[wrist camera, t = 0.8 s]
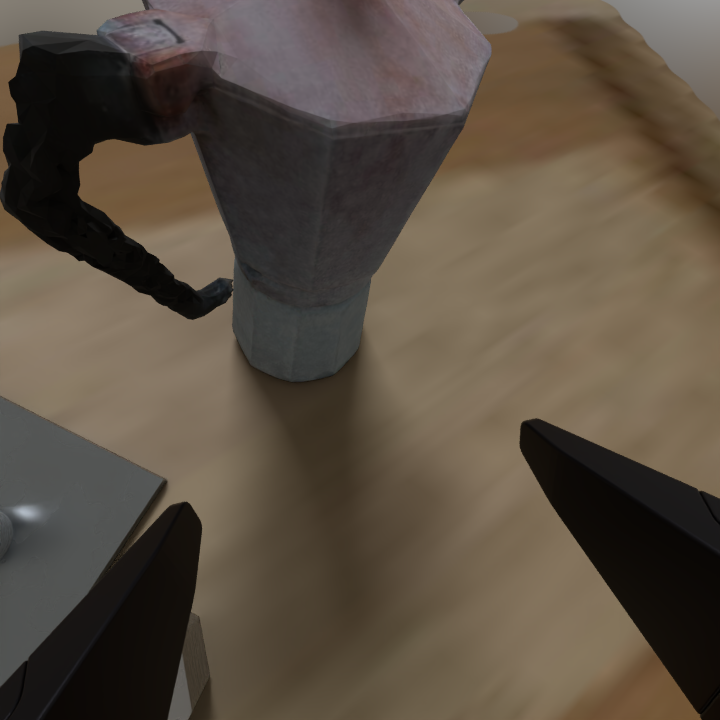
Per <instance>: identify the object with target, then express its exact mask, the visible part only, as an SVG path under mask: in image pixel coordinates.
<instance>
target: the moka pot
mask: <svg viewBox="0 0 720 720" xmlns="http://www.w3.org/2000/svg"><path fill="white" fill-rule="evenodd" d="M142 1H143V4H144V7H145V9H146V10H144V11H139V12H135V13H129V14H126V15H122V16H119V17H115V18H112V19H109V20H107V21H106V22H105V23H104V24H103V25H102V26H101V27H100V28H99V29H98V30H97V35H86V34H75V33H63V32H52V31H39V32H33V33H27V34H21V35H19V49H20V63H19V67H18V70H17V73H16V76H15V77H14V78H13V79H12V80H10V81H9V82H8V83H9V89H10V94H11V97H12V98H13V100H14V101H15V103H16V108H17V115H18V123H11V124H7V125H6V129H5V133H4V136H3V152H4V154H5V157H6V160H7V163H8V166H9V167H8V169H7V170H6V171H5V172H4V177H3V181H2V183H1V184H2V187H1V191H0V199H1V202H2V204H3V207H4V209H5V210H6V211H7V212H8V213H10V214H11V215H12V216H14V217H15V218H16V219H18V220H19V221H20V222H21V223H22V224H23V225H25V226H26V227H27V228H28V229H29V230H30V231H32V232H33V233H34V234H35V235H37V236H38V237H39V238H41V239H42V240H43V241H44V242H46V243H47V244H49V245H50V246H52V247H53V248H55V249H57V250H58V251H62V252H67V253H69V254H70V255H72V256H74V257H75V258H76V259H77V260H78V261H86V262H87V263H88V264H90V265H91V266H92V267H94V268H97V269H99V270H101V271H103V272H105V273H107V274H109V275H111V276H113V277H115V278H117V279H119V280H121V281H123V282H125V283H127V284H128V285H130V286H132V287H133V288H134V289H135V290H136V291H138V292H140V293H143V294H147V295H151V296H152V297H153V298H154V299H155V300H156V302H158V303H159V304H161V305H163V306H168V308H169V309H171V310H173V311H175V312H177V313H179V314H180V315H182V316H184V317H186V318H187V319H192V320H194V319H197V318H200V317H203V316H205V315H206V314H208V313H209V312H211V311H212V310H214V309H215V308H216V307H218V306H220V305H222V304H224V303H226V301H227V300H228V298H230V297H231V295H232V294H231V292H232V291H233V324H232V327H233V332H234V334H235V336H236V338H237V340H238V342H239V344H240V346H241V348H242V350H243V352H244V354H245V356H246V357H247V359H248V361H249V364H250V365H252V366H253V367H255V368H257V369H259V370H260V371H262V372H265V373H267V374H269V375H271V376H274V377H276V378H278V379H283V380H286V381H290V382H303V381H309V380H315V379H320V378H324V377H328V376H332V375H334V374H335V373H336V372H337V371H339V370H340V369H341V368H342V367H343V366H344V365H345V363H346V362H347V361H348V360H349V359H350V358H351V357H352V356H353V355H354V354H355V352H356V351H357V349H358V348H359V344H360V338H361V333H362V328H363V322H364V316H365V311H366V306H367V301H368V295H369V289H370V283H371V277H372V275H373V274H374V273H375V272H376V271H377V270H378V269H379V267H380V265H381V264H382V262H383V261H384V259H385V257H386V256H387V254H388V252H389V251H390V249H391V247H392V246H393V244H394V242H395V241H396V239H397V237H398V235H399V234H400V232H401V230H402V229H403V227H404V225H405V223H406V222H407V220H408V218H409V217H410V215H411V213H412V212H413V210H414V208H415V207H416V205H417V203H418V202H419V200H420V199H421V197H422V195H423V194H424V192H425V190H426V189H427V187H428V185H429V184H430V182H431V180H432V179H433V177H434V176H435V174H436V172H437V170H438V169H439V167H440V165H441V164H442V162H443V160H444V159H445V157H446V155H447V153H448V152H449V150H450V148H451V147H452V145H453V144H454V142H455V140H456V139H457V137H458V135H459V134H460V132H461V131H462V129H463V127H464V124H465V122H466V119H467V117H468V114H469V111H470V109H471V106H472V103H473V101H474V98H475V95H476V92H477V90H478V87H479V85H480V82H481V79H482V77H483V74H484V71H485V69H486V66H487V64H488V61H489V59H490V57H491V44H490V43H489V42H488V41H487V40H486V38H485V37H484V36H483V35H482V33H481V32H480V31H479V30H478V29H477V27H476V26H475V25H474V24H473V22H472V21H471V20H470V19H469V18H468V17H467V16H466V15H465V14H464V13H463V11H462V10H461V8H460V7H459V5H460V4H461V3H462V2H463V1H464V0H142ZM189 133H191V136H192V138H193V141H194V144H195V147H196V149H197V152H198V155H199V158H200V160H201V163H202V166H203V169H204V171H205V174H206V177H207V179H208V182H209V185H210V188H211V190H212V193H213V196H214V199H215V201H216V204H217V207H218V209H219V212H220V214H221V217H222V219H223V221H224V224H225V226H226V228H227V231H228V233H229V236H230V239H231V243H232V247H233V251H234V254H235V262H234V289H233V288H232V287H233V286H232V284H231V283H232V281H233V280H231V279H226V278H218V279H217V280H215V281H214V282H212V283H211V284H209V285H207V286H206V287H204V288H203V289H201V290H198V291H195V290H194V289H193V288H192V287H191V286H189V285H188V284H186V283H184V282H181V281H178V280H176V279H174V275H173V274H172V273H171V272H170V271H169V270H168V269H167V268H166V267H165V266H164V265H163V264H161V263H159V261H160V260H159V259H158V258H157V257H156V256H154V255H152V254H150V253H148V252H147V251H146V250H145V248H144V247H143V246H142V245H140V244H139V243H137V242H136V241H134V240H132V239H131V238H129V237H127V236H126V235H124V233H123V231H122V230H121V228H120V227H119V226H117V225H115V224H114V223H113V221H112V220H111V219H110V218H109V217H108V216H107V215H106V214H105V213H104V212H102V211H101V210H99V209H97V208H95V207H93V206H91V205H89V204H87V203H86V202H84V201H82V200H81V199H80V197H79V196H78V191H79V187H80V179H79V161H81V160H82V159H83V158H85V157H86V156H88V155H89V154H91V153H92V151H93V147H94V144H97V143H99V142H102V141H105V140H110V139H117V140H122V141H126V142H131V143H135V144H140V145H153V144H161V143H169V142H171V141H174V140H177V139H179V138H182V137H184V136H186V135H188V134H189Z"/></svg>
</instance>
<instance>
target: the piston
mask: <svg viewBox="0 0 720 720" xmlns="http://www.w3.org/2000/svg"><path fill="white" fill-rule="evenodd" d="M166 481H167V479H165V478H163V477H161V476H159V475H157V474H155V473H153V472H151V471H149V470H147V469H145V468H143V467H141V466H139V465H137V464H135V463H133V462H131V461H129V460H127V459H125V458H123V457H121V456H119V455H117V454H115V453H113V452H111V451H109V450H107V449H105V448H103V447H101V446H99V445H97V444H95V443H93V442H91V441H89V440H87V439H85V438H83V437H81V436H79V435H77V434H75V433H73V432H71V431H69V430H67V429H65V428H63V427H61V426H59V425H57V424H55V423H53V422H51V421H49V420H47V419H45V418H43V417H41V416H39V415H37V414H35V413H33V412H31V411H29V410H27V409H25V408H23V407H21V406H19V405H17V404H15V403H13V402H11V401H9V400H7V399H5V398H3V397H1V396H0V687H1V686H2V685H3V684H4V682H5V681H6V680H7V679H8V678H9V677H10V676H11V675H12V674H13V673H14V672H15V671H16V670H17V669H18V667H19V666H20V665H21V664H22V663H23V662H24V661H26V660H28V657H29V656H30V655H31V654H32V653H33V651H34V650H35V649H36V648H37V647H38V646H39V645H40V644H41V643H42V642H43V641H44V640H45V639H46V638H47V637H48V635H49V634H50V633H51V632H52V631H53V630H54V629H55V628H56V627H57V626H58V625H59V624H60V623H61V622H62V620H63V619H64V618H65V617H66V616H67V615H68V614H69V613H70V612H71V611H72V610H73V609H74V608H75V607H76V605H77V604H78V603H79V602H80V601H81V600H82V599H83V598H84V597H85V596H86V595H87V594H88V593H89V592H90V590H91V589H92V588H93V587H94V586H95V585H96V584H97V583H98V582H99V581H100V580H101V579H102V578H103V576H104V575H105V573H106V572H107V570H108V569H109V567H110V566H111V564H112V563H113V561H114V560H115V558H116V557H117V555H118V554H119V552H120V551H121V549H122V548H123V546H124V545H125V543H126V542H127V540H128V538H129V537H130V535H131V534H132V532H133V531H134V529H135V528H136V526H137V525H138V523H139V522H140V520H141V519H142V517H143V516H144V514H145V513H146V511H147V510H148V508H149V507H150V505H151V504H152V502H153V501H154V499H155V498H156V496H157V495H158V493H159V492H160V490H161V489H162V487H163V485H164V484H165V482H166Z"/></svg>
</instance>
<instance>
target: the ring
mask: <svg viewBox="0 0 720 720" xmlns="http://www.w3.org/2000/svg"><path fill="white" fill-rule="evenodd" d="M209 677H210V674H209V668H208V663H207V657H206V652H205V647H204V641H203V636H202V630H201V625H200V620H199V616H197V615H195V614H193V613H190V618H189V623H188V627H187V632H186V637H185V641H184V646H183V651H182V655H181V660H180V665H179V669H178V674H177V679H176V683H175V688H174V693H173V697H172V702H171V707H170V711H169V716H168V720H188V719H189V717H190V715H191V713H192V711H193V709H194V707H195V705H196V703H197V701H198V699H199V697H200V695H201V693H202V691H203V689H204V687H205V685H206V683H207V681H208V679H209Z"/></svg>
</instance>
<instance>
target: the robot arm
mask: <svg viewBox="0 0 720 720" xmlns="http://www.w3.org/2000/svg"><path fill="white" fill-rule="evenodd" d="M520 449H521V452H522V454H523V456H524V457H525V459H526V461H527V463H528V465H529V466H530V468H531V470H532V472H533V473H534V475H535V477H536V479H537V481H538V482H539V484H540V486H541V488H542V490H543V491H544V493H545V495H546V497H547V498H548V500H549V502H550V503H551V505H552V506H553V508H554V509H555V511H556V512H557V514H558V515H559V517H560V518H561V519H562V521H563V522H564V524H565V525H566V527H567V528H568V529H569V531H570V532H571V534H572V535H573V537H574V538H575V539H576V541H577V542H578V544H579V545H580V546H581V548H582V549H583V551H584V552H585V554H586V555H587V556H588V558H589V559H590V561H591V562H592V564H593V565H594V566H595V568H596V569H597V571H598V572H599V574H600V575H601V576H602V578H603V579H604V581H605V582H606V583H607V585H608V586H609V588H610V589H611V591H612V592H613V593H614V595H615V596H616V598H617V599H618V601H619V602H620V603H621V605H622V606H623V608H624V609H625V610H626V612H627V613H628V615H629V616H630V618H631V619H632V620H633V622H634V623H635V625H636V626H637V628H638V629H639V630H640V632H641V633H642V635H643V636H644V638H645V639H646V640H647V642H648V643H649V645H650V646H651V647H652V649H653V650H654V652H655V653H656V655H657V656H658V657H659V659H660V660H661V662H662V663H663V665H664V666H665V667H666V669H667V670H668V672H669V673H670V675H671V676H672V677H673V679H674V680H675V682H676V683H677V684H678V686H679V687H680V689H681V690H682V692H683V693H684V694H685V696H686V697H687V699H688V700H689V702H690V703H691V704H692V706H693V707H694V709H695V710H696V711H697V713H698V714H700V718H701V719H702V720H720V498H717V497H715V496H713V495H710V494H708V493H706V492H704V491H698V489H696V488H694V487H692V486H690V485H688V484H685V483H683V482H681V481H679V480H676V479H674V478H672V477H669V476H667V475H665V474H663V473H660V472H658V471H656V470H654V469H651V468H649V467H647V466H645V465H642V464H640V463H638V462H636V461H633V460H631V459H629V458H627V457H624V456H622V455H620V454H617V453H615V452H613V451H611V450H608V449H606V448H604V447H602V446H599V445H597V444H595V443H593V442H590V441H588V440H586V439H584V438H581V437H579V436H577V435H575V434H572V433H570V432H568V431H565V430H563V429H561V428H559V427H556V426H554V425H552V424H550V423H547V422H545V421H543V420H541V419H537V418H535V419H531V420H526V421H523V422H522V423H521V428H520ZM201 535H202V524H201V521H200V519H199V517H198V516H197V514H196V513H195V511H194V509H193V508H192V506H191V505H190V503H188V502H181V503H177V504H173V505H171V506H169V507H168V508H167V509H166V510H165V511H164V512H163V513H162V514H161V515H160V517H159V518H158V519H157V520H156V521H155V522H154V523H153V524H152V525H151V526H150V527H149V528H148V529H147V530H146V532H145V533H144V534H143V535H142V536H141V537H140V538H139V539H138V540H137V541H136V542H135V543H134V544H133V545H132V547H131V548H130V549H129V550H128V551H127V552H126V553H125V554H124V555H123V556H122V557H121V558H120V559H119V560H118V562H117V563H116V564H115V565H114V566H113V567H112V568H111V569H110V570H109V571H108V572H107V573H106V574H105V575H104V577H103V578H102V579H101V580H100V581H99V582H98V583H97V584H96V585H95V586H94V587H93V588H92V589H91V590H90V592H89V593H88V594H87V595H86V596H85V597H84V598H83V599H82V600H81V601H80V602H79V603H78V604H77V605H76V607H75V608H74V609H73V610H72V611H71V612H70V613H69V614H68V615H67V616H66V617H65V618H64V619H63V620H62V622H61V623H60V624H59V625H58V626H57V627H56V628H55V629H54V630H53V631H52V632H51V633H50V634H49V635H48V637H47V638H46V639H45V640H44V641H43V642H42V643H41V644H40V645H39V646H38V647H37V648H36V649H35V650H34V651H33V653H32V654H31V655H30V656H29V657H28V660H26V661H24V662H23V663H22V664H21V665H20V666H19V667H18V669H17V670H16V671H15V672H14V673H13V674H12V675H11V676H10V677H9V678H8V679H7V680H6V681H5V682H4V684H3V685H2V686H1V687H0V720H168V716H169V711H170V707H171V702H172V697H173V693H174V688H175V683H176V679H177V674H178V669H179V665H180V660H181V655H182V651H183V646H184V641H185V637H186V632H187V627H188V623H189V618H190V613H191V609H192V604H193V599H194V594H195V587H196V580H197V571H198V562H199V553H200V544H201Z"/></svg>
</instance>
